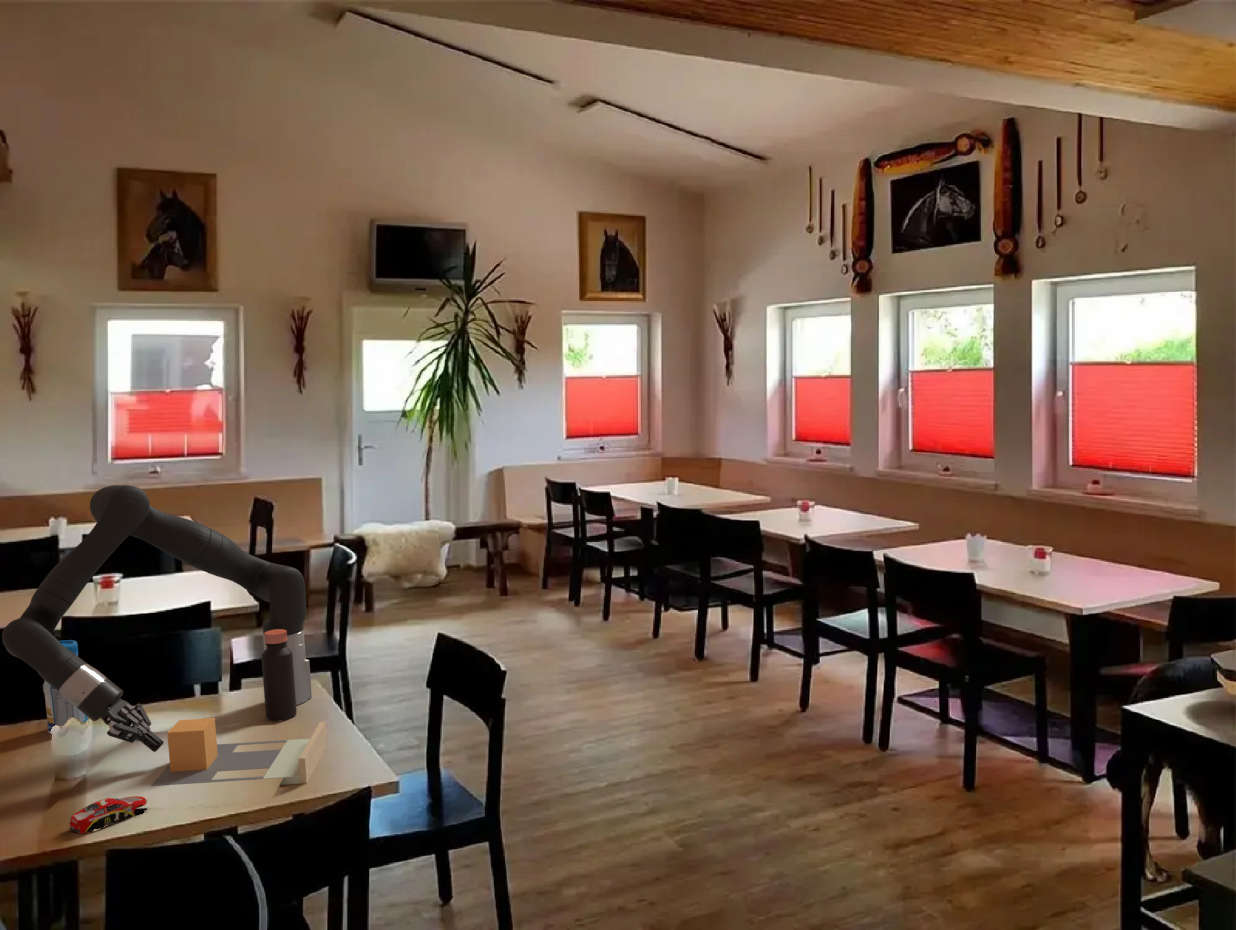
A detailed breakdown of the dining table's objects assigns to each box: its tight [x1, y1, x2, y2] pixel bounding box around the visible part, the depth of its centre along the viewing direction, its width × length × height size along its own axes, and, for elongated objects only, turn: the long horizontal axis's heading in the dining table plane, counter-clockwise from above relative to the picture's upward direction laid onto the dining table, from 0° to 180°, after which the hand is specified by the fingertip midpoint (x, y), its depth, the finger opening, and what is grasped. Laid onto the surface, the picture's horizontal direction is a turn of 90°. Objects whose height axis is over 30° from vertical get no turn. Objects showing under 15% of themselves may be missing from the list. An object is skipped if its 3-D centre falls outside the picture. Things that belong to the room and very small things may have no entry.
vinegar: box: [261, 629, 298, 722], centre depth 235 cm, size 7×7×20 cm
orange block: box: [166, 717, 218, 772], centre depth 205 cm, size 7×7×8 cm
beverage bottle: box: [42, 639, 89, 734], centre depth 231 cm, size 8×8×20 cm
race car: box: [69, 795, 148, 834], centre depth 184 cm, size 13×5×4 cm, turn 140°
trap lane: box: [150, 721, 328, 787], centre depth 206 cm, size 29×20×5 cm
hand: (159, 747), depth 205 cm, fingers closed
